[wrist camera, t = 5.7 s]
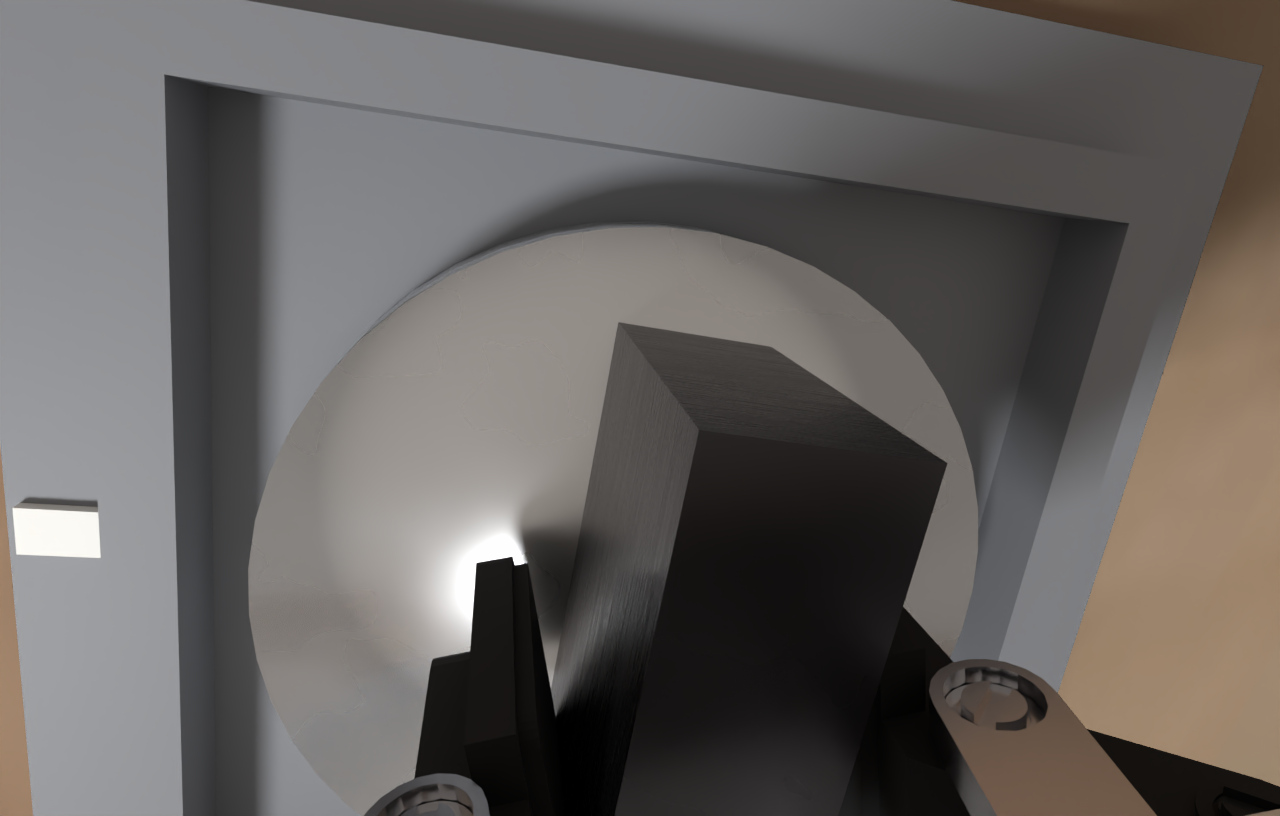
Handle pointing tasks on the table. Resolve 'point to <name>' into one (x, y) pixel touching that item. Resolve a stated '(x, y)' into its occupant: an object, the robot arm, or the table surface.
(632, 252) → the dial
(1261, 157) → the table surface
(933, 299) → the dial housing
